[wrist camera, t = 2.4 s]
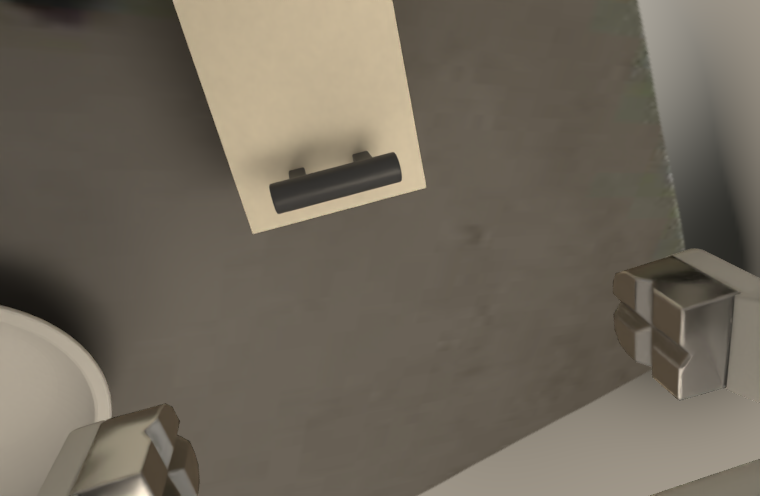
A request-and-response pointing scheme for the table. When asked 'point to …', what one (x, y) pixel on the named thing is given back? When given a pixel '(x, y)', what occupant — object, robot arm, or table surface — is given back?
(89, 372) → the dish
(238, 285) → the table surface
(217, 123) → the bin
